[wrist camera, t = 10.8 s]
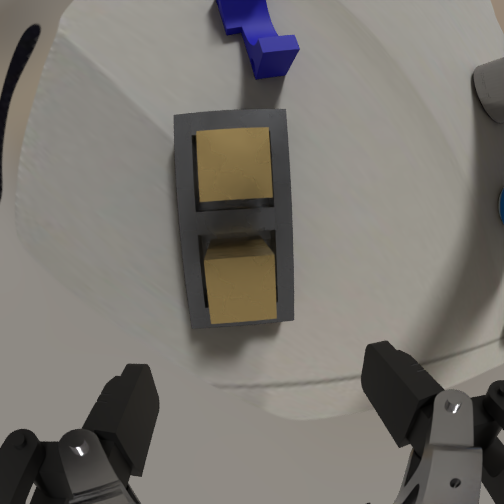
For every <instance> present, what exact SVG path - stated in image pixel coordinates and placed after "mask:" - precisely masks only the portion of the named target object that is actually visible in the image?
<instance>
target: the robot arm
mask: <svg viewBox="0 0 504 504" xmlns="http://www.w3.org/2000/svg"><path fill="white" fill-rule="evenodd" d="M474 83H475V87H476V91H477V94H478V96H479V99H480V101H481V103H482V105H483V107H484V108H485V110H486V112H487V113H488V114H489V116H490V117H491V118H492V119H493V120H494V121H496V122H498V123H504V57H503V58H500V59H497V60H494V61H491V62H488V63H486V64H483V65H480V66H478V67H476V68H475V70H474ZM361 384H362V388H363V391H364V393H365V394H366V396H367V397H368V399H369V401H370V402H371V404H372V405H373V407H374V408H375V410H376V412H377V413H378V415H379V416H380V418H381V419H382V421H383V423H384V424H385V426H386V428H387V429H388V431H389V433H390V434H391V436H392V437H393V439H394V441H395V442H396V444H397V445H398V447H399V448H401V447H403V446H406V445H408V444H411V445H412V447H413V448H412V451H411V453H410V456H409V460H408V464H407V468H406V471H405V475H404V478H403V482H402V485H401V488H400V491H399V493H398V496H397V498H396V500H395V502H394V503H393V504H479V498H480V489H481V481H482V483H483V484H484V486H485V488H486V489H487V491H488V492H489V494H490V496H491V497H492V499H493V500H494V502H495V504H504V445H503V444H502V442H501V441H500V440H499V439H498V437H497V435H498V434H499V432H500V431H501V429H503V430H504V380H499V381H495V382H493V383H492V384H491V385H490V386H489V389H488V391H487V393H486V395H482V396H477V397H472V398H470V397H469V396H468V395H467V394H466V393H464V392H462V391H459V390H454V389H449V390H444V389H443V388H442V387H441V386H440V385H439V384H438V383H437V382H436V381H435V379H434V378H433V377H432V376H431V375H430V374H429V373H428V372H427V371H426V370H424V368H423V367H422V366H421V365H420V364H418V362H417V361H416V360H415V359H414V358H413V357H412V356H411V355H409V354H407V353H405V352H403V351H401V350H396V349H395V348H394V347H393V346H392V345H391V344H390V343H389V342H388V341H381V342H377V343H372V344H368V345H367V347H366V350H365V356H364V363H363V369H362V375H361ZM158 413H159V396H158V393H157V390H156V387H155V384H154V380H153V377H152V374H151V370H150V367H149V366H148V365H147V364H127V365H126V367H125V369H124V370H123V372H122V374H121V376H115V377H114V378H113V379H111V380H110V381H109V382H108V383H107V384H106V385H105V387H104V389H103V390H102V392H101V395H100V396H99V397H98V399H97V402H96V403H95V405H94V406H93V408H92V410H91V412H90V414H89V416H88V418H87V420H86V421H85V423H84V425H83V427H82V429H75V430H71V431H69V432H67V433H66V434H64V435H63V436H62V438H61V439H60V441H59V442H40V441H39V440H38V438H37V437H36V435H35V434H34V433H33V432H32V431H30V430H27V429H19V430H16V431H14V432H12V433H10V435H8V437H7V438H6V439H5V441H4V443H3V444H2V446H1V448H0V504H25V502H26V499H27V496H28V494H29V492H30V489H31V487H32V484H33V483H34V484H35V485H36V486H37V487H36V489H35V492H34V494H33V497H32V499H31V502H30V504H141V502H140V501H139V499H138V498H137V496H136V495H135V493H134V491H133V490H132V488H131V486H130V485H129V484H128V481H129V478H130V475H133V476H139V477H142V473H143V469H144V465H145V461H146V457H147V453H148V449H149V446H150V442H151V438H152V434H153V431H154V427H155V423H156V419H157V416H158ZM367 504H370V503H367Z"/></svg>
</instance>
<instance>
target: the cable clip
mask: <svg viewBox="0 0 504 504" xmlns="http://www.w3.org/2000/svg"><path fill="white" fill-rule="evenodd" d="M216 2H217V5H218V8H219V12H220V15H221V18H222V22H223V25H224V28H225V32H226V35H232V34H238V33H241V34H242V37H243V40H244V43H245V46H246V50H247V53H248V56H249V59H250V63H251V66H252V69H253V73H254V76H255V80H257V79H263V78H270V77H277V76H285V75H286V74H287V72H288V70H289V68H290V66H291V64H292V62H293V61H294V59H295V57H296V55H297V53H298V51H299V50H300V48H299V45H298V43H297V40H296V37H295V35H285V36H278V34H277V33H276V31H275V29H274V27H273V25H272V22H271V19H270V16H269V12H268V8H267V3H266V0H216Z"/></svg>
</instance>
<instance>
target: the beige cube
mask: <svg viewBox="0 0 504 504" xmlns="http://www.w3.org/2000/svg"><path fill="white" fill-rule="evenodd" d="M196 139H197V162H198V180H199V196H200V202H208V201H221V200H236V199H252V198H272V197H273V193H272V174H271V157H270V141H269V127H257V128H233V129H217V130H204V131H196Z"/></svg>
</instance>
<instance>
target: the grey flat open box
mask: <svg viewBox="0 0 504 504" xmlns="http://www.w3.org/2000/svg"><path fill="white" fill-rule="evenodd" d="M257 127H269V141H270V157H271V174H272V193H273V197H272V198H252V199H236V200H221V201H208V202H200V196H199V180H198V162H197V139H196V131H204V130H217V129H233V128H257ZM174 148H175V171H176V188H177V203H178V216H179V227H180V238H181V248H182V257H183V266H184V275H185V283H186V291H187V298H188V305H189V312H190V319H191V326H192V328H211V327H227V326H240V325H252V324H264V323H274V322H283V321H293V320H294V263H293V227H292V201H291V180H290V162H289V147H288V132H287V119H286V109H241V110H222V111H209V112H197V113H188V114H179V115H174ZM247 236H261V237H262V239H263V240H264V241H265V243H266V244H267V245H268V247H269V248H270V249H271V251H272V252H273V253H274V257H275V281H276V309H277V319H267V320H256V321H245V322H233V323H220V324H211V319H210V311H209V303H208V294H207V286H206V277H205V267H204V258H205V255H206V252H207V249H208V247H209V244H210V241H211V239H221V238H234V237H247Z"/></svg>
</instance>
